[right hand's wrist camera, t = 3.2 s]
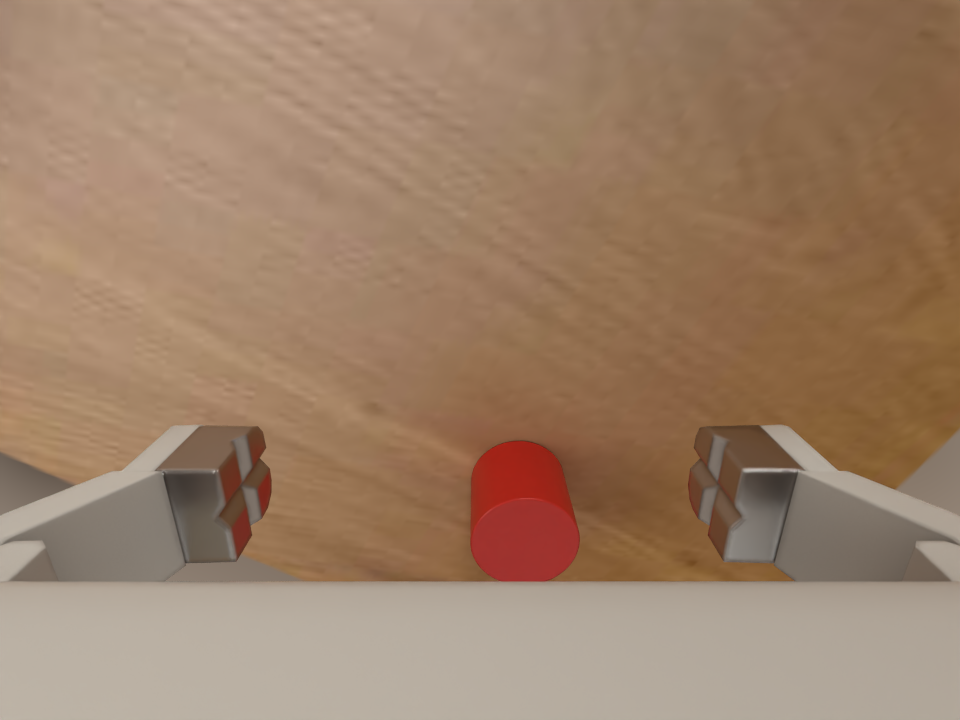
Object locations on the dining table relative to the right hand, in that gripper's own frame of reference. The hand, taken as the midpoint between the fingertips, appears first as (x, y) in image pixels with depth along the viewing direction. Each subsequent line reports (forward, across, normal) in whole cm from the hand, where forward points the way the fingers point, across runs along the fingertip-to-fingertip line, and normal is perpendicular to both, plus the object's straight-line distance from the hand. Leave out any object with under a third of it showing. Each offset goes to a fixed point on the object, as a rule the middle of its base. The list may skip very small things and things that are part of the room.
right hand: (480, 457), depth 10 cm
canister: (+13, +2, -10) cm, 17 cm away
